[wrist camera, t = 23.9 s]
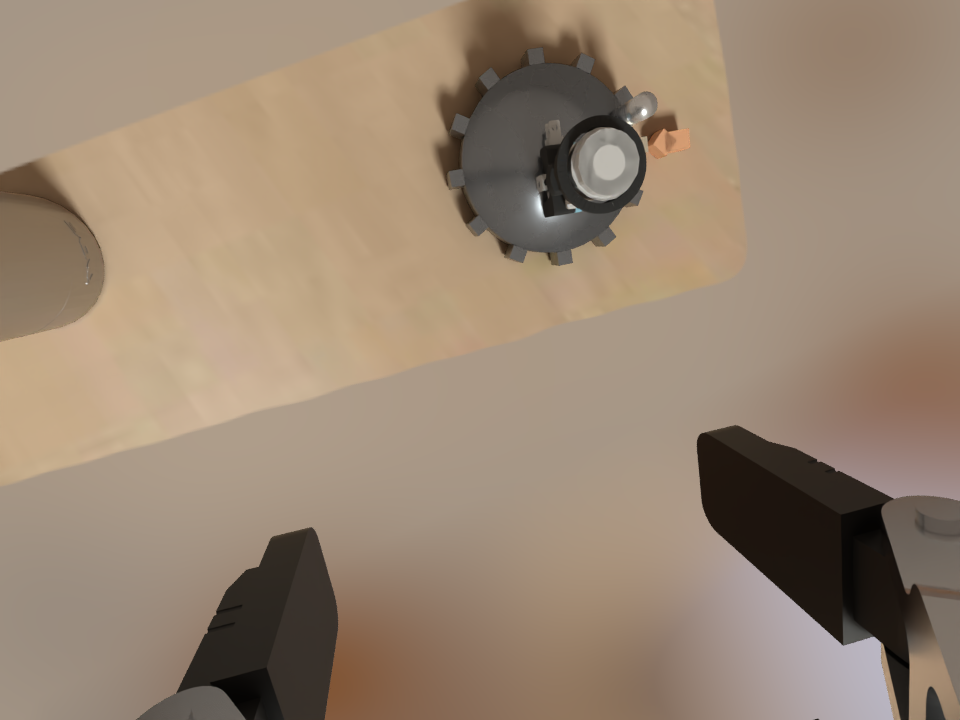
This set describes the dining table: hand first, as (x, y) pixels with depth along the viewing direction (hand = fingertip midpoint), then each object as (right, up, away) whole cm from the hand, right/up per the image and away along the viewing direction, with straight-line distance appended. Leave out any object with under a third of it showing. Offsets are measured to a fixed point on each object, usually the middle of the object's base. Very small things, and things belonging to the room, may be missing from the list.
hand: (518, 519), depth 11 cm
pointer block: (+14, +20, +31) cm, 40 cm away
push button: (+5, +17, +28) cm, 33 cm away
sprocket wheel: (+4, +18, +30) cm, 35 cm away
